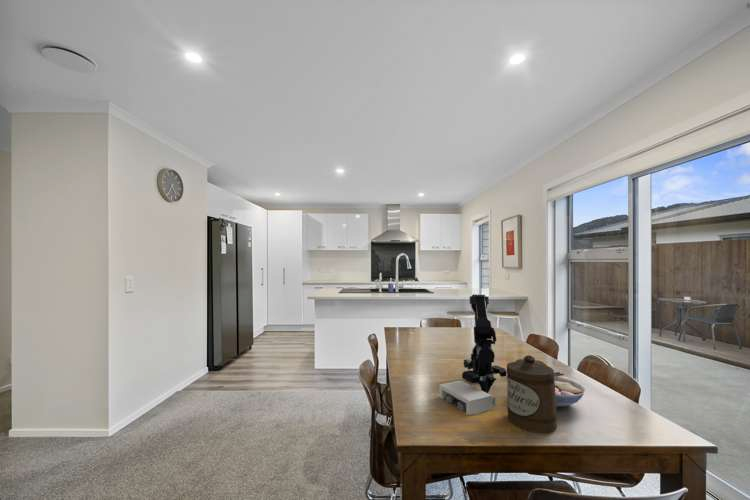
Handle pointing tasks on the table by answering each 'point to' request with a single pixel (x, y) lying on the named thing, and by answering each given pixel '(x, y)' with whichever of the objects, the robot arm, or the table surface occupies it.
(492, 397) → the light blue slab
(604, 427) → the table surface
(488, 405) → the white box
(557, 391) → the ramen bowl
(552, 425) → the wooden container
